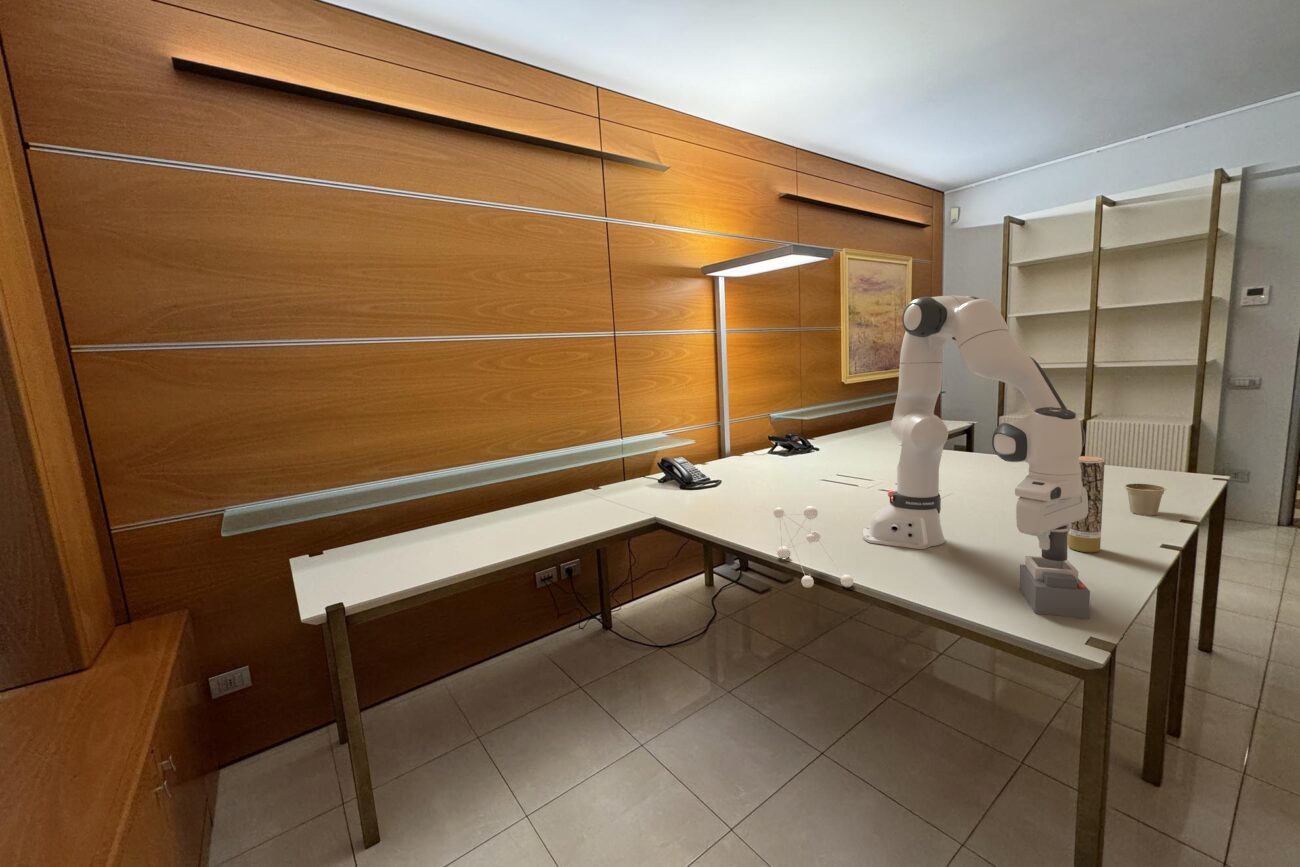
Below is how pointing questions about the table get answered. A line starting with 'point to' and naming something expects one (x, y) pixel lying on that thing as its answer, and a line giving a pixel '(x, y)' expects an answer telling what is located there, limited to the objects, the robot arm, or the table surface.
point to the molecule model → (814, 536)
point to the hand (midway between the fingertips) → (1053, 545)
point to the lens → (1057, 545)
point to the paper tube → (1089, 507)
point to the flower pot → (1144, 498)
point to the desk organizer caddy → (1054, 588)
